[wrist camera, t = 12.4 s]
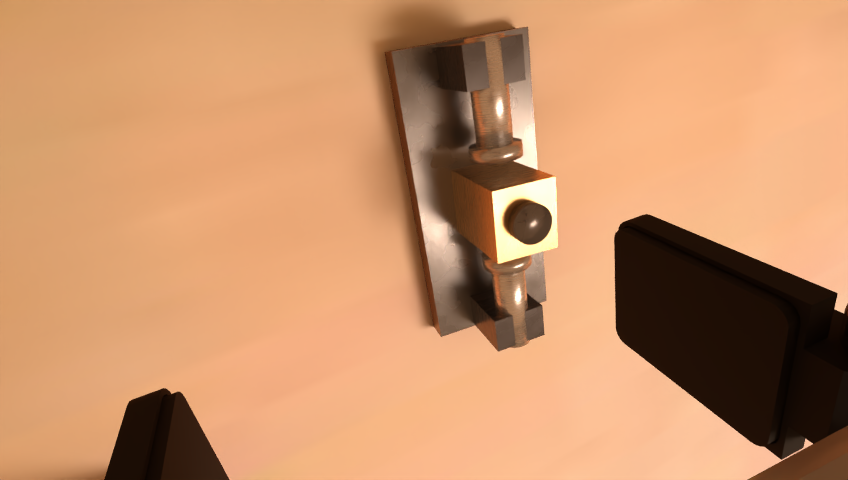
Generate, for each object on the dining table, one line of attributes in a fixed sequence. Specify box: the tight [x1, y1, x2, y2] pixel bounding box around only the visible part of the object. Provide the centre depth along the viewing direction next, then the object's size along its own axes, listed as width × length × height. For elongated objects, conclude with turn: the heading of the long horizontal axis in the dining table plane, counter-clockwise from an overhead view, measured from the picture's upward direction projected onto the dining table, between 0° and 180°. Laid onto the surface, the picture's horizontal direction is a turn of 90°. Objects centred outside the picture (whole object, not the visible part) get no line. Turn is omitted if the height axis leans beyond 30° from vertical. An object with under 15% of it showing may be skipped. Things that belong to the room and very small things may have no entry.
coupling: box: [451, 161, 558, 264], centre depth 30 cm, size 4×4×7 cm
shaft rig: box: [385, 27, 546, 351], centre depth 32 cm, size 20×9×6 cm, turn 9°
